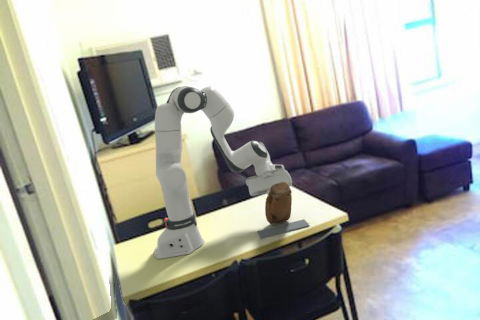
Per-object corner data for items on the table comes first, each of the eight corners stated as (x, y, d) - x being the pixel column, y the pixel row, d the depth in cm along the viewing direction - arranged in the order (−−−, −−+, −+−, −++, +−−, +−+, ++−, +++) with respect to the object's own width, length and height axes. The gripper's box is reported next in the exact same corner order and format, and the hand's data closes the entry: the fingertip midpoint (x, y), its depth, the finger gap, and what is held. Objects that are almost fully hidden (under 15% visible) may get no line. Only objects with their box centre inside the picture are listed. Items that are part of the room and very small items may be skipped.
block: (284, 209, 196) (286, 179, 182) (291, 220, 191) (294, 190, 177) (263, 216, 193) (263, 186, 179) (270, 228, 188) (271, 198, 174)
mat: (260, 238, 178) (260, 237, 178) (257, 232, 185) (257, 231, 185) (309, 226, 181) (309, 225, 180) (304, 220, 188) (304, 219, 188)
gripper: (244, 175, 192) (252, 201, 184) (286, 164, 194) (296, 189, 187) (244, 181, 197) (252, 207, 190) (286, 171, 199) (295, 195, 192)
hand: (274, 198), depth 188 cm, fingers closed
